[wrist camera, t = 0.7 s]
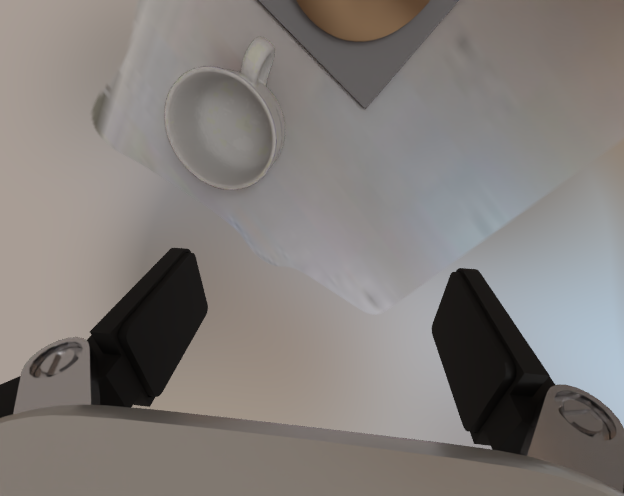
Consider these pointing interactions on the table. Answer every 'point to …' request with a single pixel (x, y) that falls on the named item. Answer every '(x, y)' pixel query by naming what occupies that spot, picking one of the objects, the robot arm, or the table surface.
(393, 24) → the lid
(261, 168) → the teacup
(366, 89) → the mat
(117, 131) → the table surface
